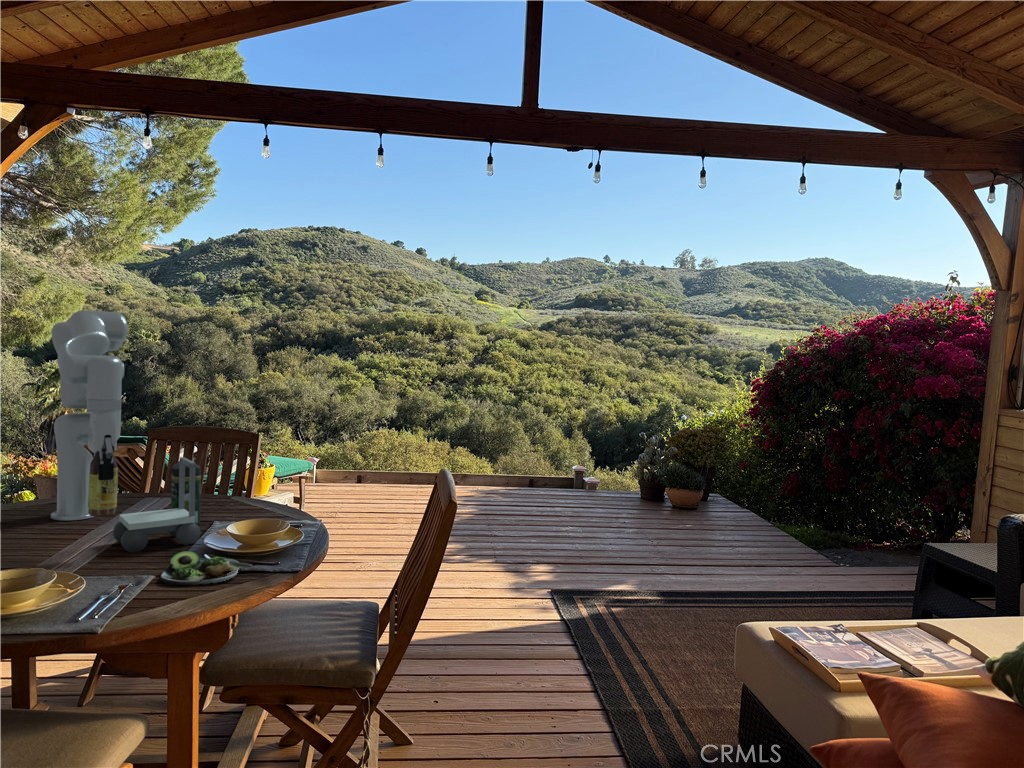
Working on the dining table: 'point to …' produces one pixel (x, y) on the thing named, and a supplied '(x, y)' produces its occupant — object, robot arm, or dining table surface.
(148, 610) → the dining table surface
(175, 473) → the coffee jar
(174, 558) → the salad plate
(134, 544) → the trolley
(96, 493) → the sauce bottle
